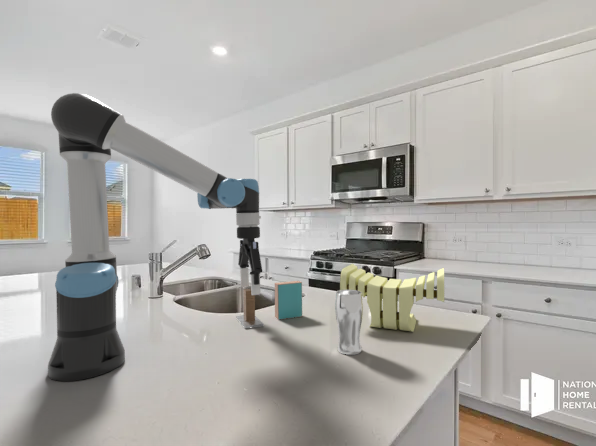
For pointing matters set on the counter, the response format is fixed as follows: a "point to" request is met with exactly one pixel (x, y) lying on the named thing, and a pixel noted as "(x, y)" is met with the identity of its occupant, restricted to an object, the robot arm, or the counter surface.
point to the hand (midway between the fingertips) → (250, 290)
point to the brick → (288, 299)
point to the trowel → (249, 311)
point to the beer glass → (349, 320)
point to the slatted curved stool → (391, 295)
